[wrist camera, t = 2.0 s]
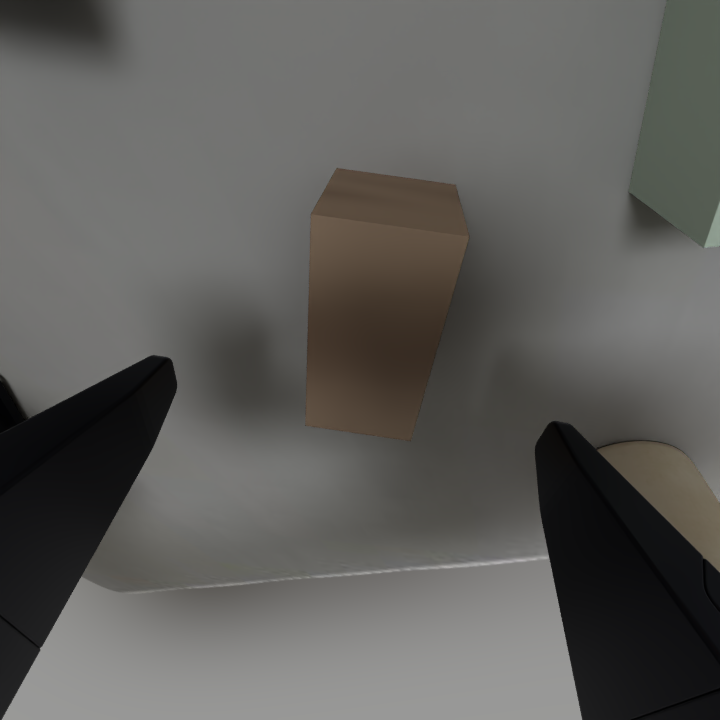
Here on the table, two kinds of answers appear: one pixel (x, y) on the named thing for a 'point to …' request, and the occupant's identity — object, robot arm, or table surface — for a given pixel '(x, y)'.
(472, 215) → the table surface
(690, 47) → the sage block
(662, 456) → the candle
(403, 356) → the walnut block
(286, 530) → the table surface
